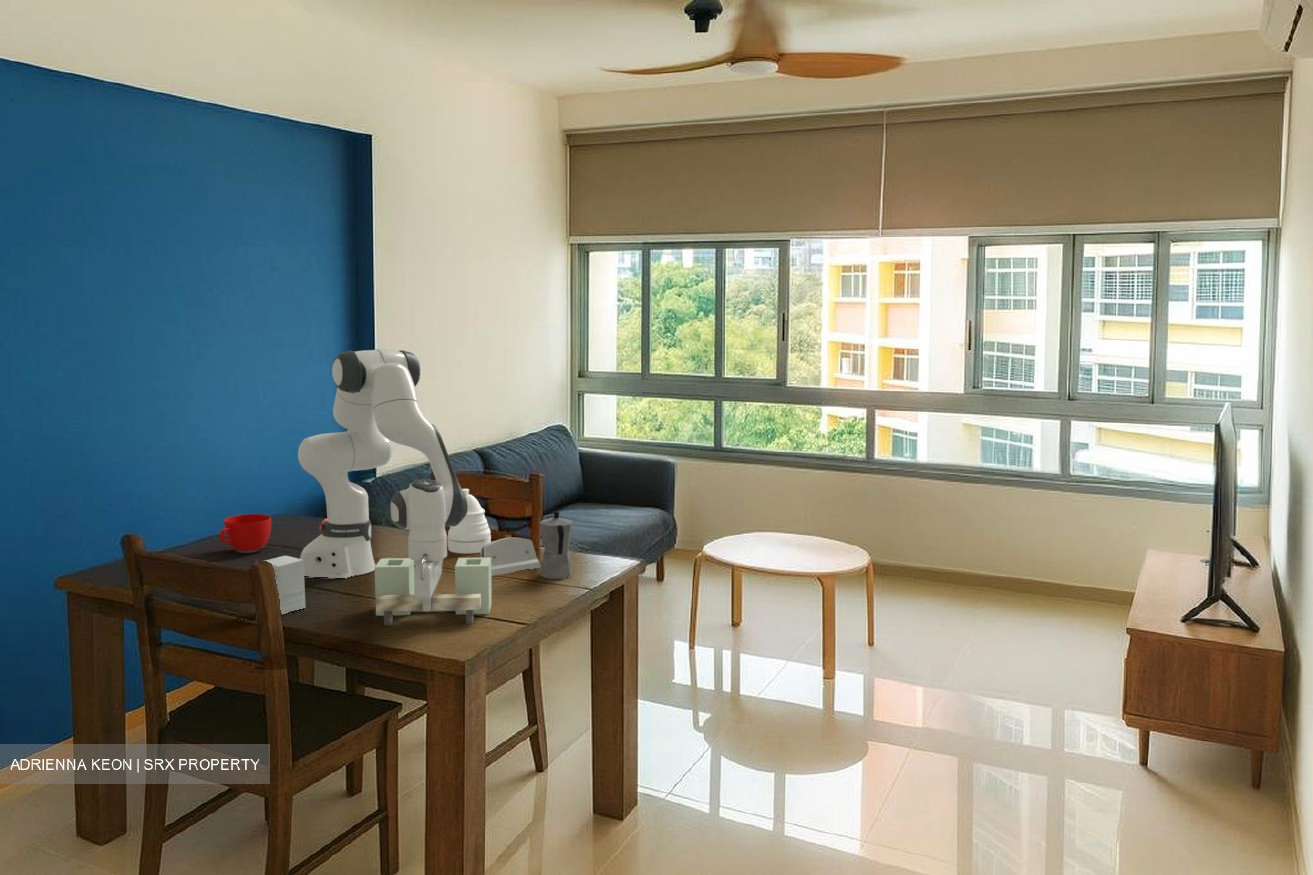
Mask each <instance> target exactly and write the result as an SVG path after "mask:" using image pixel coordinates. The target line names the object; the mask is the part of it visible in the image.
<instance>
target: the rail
mask: <svg viewBox="0 0 1313 875" xmlns="http://www.w3.org/2000/svg"><path fill="white" fill-rule="evenodd" d="M480 607H481V594H455V593H435V594H432V596H431V610H466V614H465V625H473V623H474V616H475V614H474V610H480ZM376 611H384V615H383V626H391V625H392V623H393V620H394V619H393V616H394V615H393V611H423V604H422V599H415V595H378V596H377V597H376V596H375V612H376Z"/></svg>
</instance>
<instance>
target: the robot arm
mask: <svg viewBox="0 0 1313 875" xmlns="http://www.w3.org/2000/svg"><path fill="white" fill-rule="evenodd" d="M420 365H421V364H420V361H419V359H418V357H417V356H416V355H415V354H414V353H413V352H411V351H406V350H401V349H400V350H391V349H371V350H370V349H369V350H365V349H364V350H357V351H354V350H347V351H343V352H340V353H338V354H336V356H335V358H334V359H333V362H332V367H331V368H332V372H331V373H332V374H331V375H332V380H333V383H334V385H335V386H336V388H337V389H336V392H335V397H334V398H335V399H334V401H333V402H334V404H333V408H332V413H333V414H332V415H333V418H334V420H335V421H336V423H338V425H340V426H341V427H343V429H346V430H347V431H343V432H342V431H340V432H328V433H327V432H326V433H320V434H316V435H312V436H309V437H305V438H304V439H303V440H302V441H301V443H300V444H299V447H298V451H297V458H298V462H299V464H300V466H301V468H302V469H303V470H304V471H305V472H307V473H308V474H310V475H311V476H313V477H314V478H315V480H317V481H318V482H319V484H320V486H321V488H322V491H323V494H324V496H325V504H326V515H327V517H326V518H324V519H323V520H322V521H321V523H320V526H319V531H320V535H318V536H317V537H316V538H315V539H313V540H311V542H309V543H308V544H307V545H306V546H305V547H304V548H303V549H302V551H301V553H300V556H299V559H302V560H303V561H304V576H309V577H308V578H314V577H328V578H327V579H335V578H345V579H348V577H349V578H351V576H352V577H355V575H356V576H361V575H365V574H368V573H371V572H375V566H376V565H377V564H376V563H375V559H374V556H373V550H372V545H371V544H372V543H371V539H372V523H371V519H370V518H369V516H370V515H369V495H368V492H367V491H366V489H365V488H364V487H362V486H361V485H359V484H356V483H354V482H351V481H350V480H349V476H348V474H349V472H354V471H356V472H357V471H367V470H372V469H376V468H378V467H382V466H385V465H387V464H388V463H389V461H390V459H391V457H392V454H393V444H392V442H393V443H395V444H398V445H402V446H406V447H409V448H412V449H414V450H417V451H419V452H420V453H422V454H423V455H425V457H426V459H427V460H428V461H429V465H430V467H431V470H432V472H433V476H434V477H435V479H434V480H433V479H428V478H424V479H423V478H422V479H416V480H414V481H413V482H411V483H410V484H409V486H408V488H406V489H403V490H400V491H399V490H398V491H397V492H395V494H394V495H393V496H392V497H391V499H390V501H389V519H390V521H391V522H392V524H393V525H394V526H396V527H397V528H399V529H401V530H406V531H407V530H408V531H409V533H408V537H407V539H408V541H407V542H408V546H407V548H408V550H407V551H408V558H410V559H411V560H414V595H415V599H422V604H423V611H430V610H431V596H432V594H436V589H437V585H438V583H439V580H441V577H442V572H443V564H444V559H445V558H447V557H448V535H447V534H448V533H447V531H446V527H450V526H457V525H458V524H459V523H460V522H461V521H462V520H463V519H464V517H465V516H466V514H467V511H468V505H467V500H466V497H465V494H464V492H463V490H462V489H463V488H462V487H461V484H460V483H459V481H458V479H457V475H456V472H455V469H454V467H453V464H452V461H451V459H450V456H449V453H448V451H447V448H446V445H445V443H444V440H443V438H442V436H441V434H440V432H439V429H438V427H437V426H436V425H434V424H432V423H431V422H430V421H428V420H427V418H426V417H425V415H424V413H423V411H422V410H421V407H420V402H419V396H418V393H417V390H416V389H417V388H416V387H417V385H418V384H419V382H420V378H421V366H420Z"/></svg>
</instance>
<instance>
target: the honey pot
mask: <svg viewBox="0 0 1313 875" xmlns="http://www.w3.org/2000/svg"><path fill="white" fill-rule="evenodd" d="M462 490H463V492H464V494H465V497H466V500H467V505H468V511H467V514H466V516H465V517H464V519H463V520H462V521H461V522H460V523H459V524H458V525H457V526H449V530H448V531H447V534H448V535H447V551H449V552H450V553H455V554H465V555H466V554H481V552H480V551H481V548H482V547H484V546H485V545H487V544H489V543H491V542H492V535H491V529H490V528H489V523H488V520H487V518H486V516H485V513H486V511H485V509H484V508H483V507H482V506H481V504H480V503H479V500H478V499H477V498H476V497H475V496H474V495H472V494H470V489H469V488H462Z"/></svg>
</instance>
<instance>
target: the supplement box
mask: <svg viewBox="0 0 1313 875" xmlns="http://www.w3.org/2000/svg"><path fill="white" fill-rule="evenodd" d="M264 561H267V562H269V563H271V564H272V566H273V568H274V572H275V579H276V584H277V589H278V593H279V599H280V610H281V613H282V615H283V614H286V613H288V612H290V611H294V610H299V609H303V608H306V589H305V587H306V586H305V577H304V561H303V560H302V559H300V558H297V557H293V556H289V555H280V556H278V557H274V558H270V559H266V560H264ZM306 609H307V608H306Z"/></svg>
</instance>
